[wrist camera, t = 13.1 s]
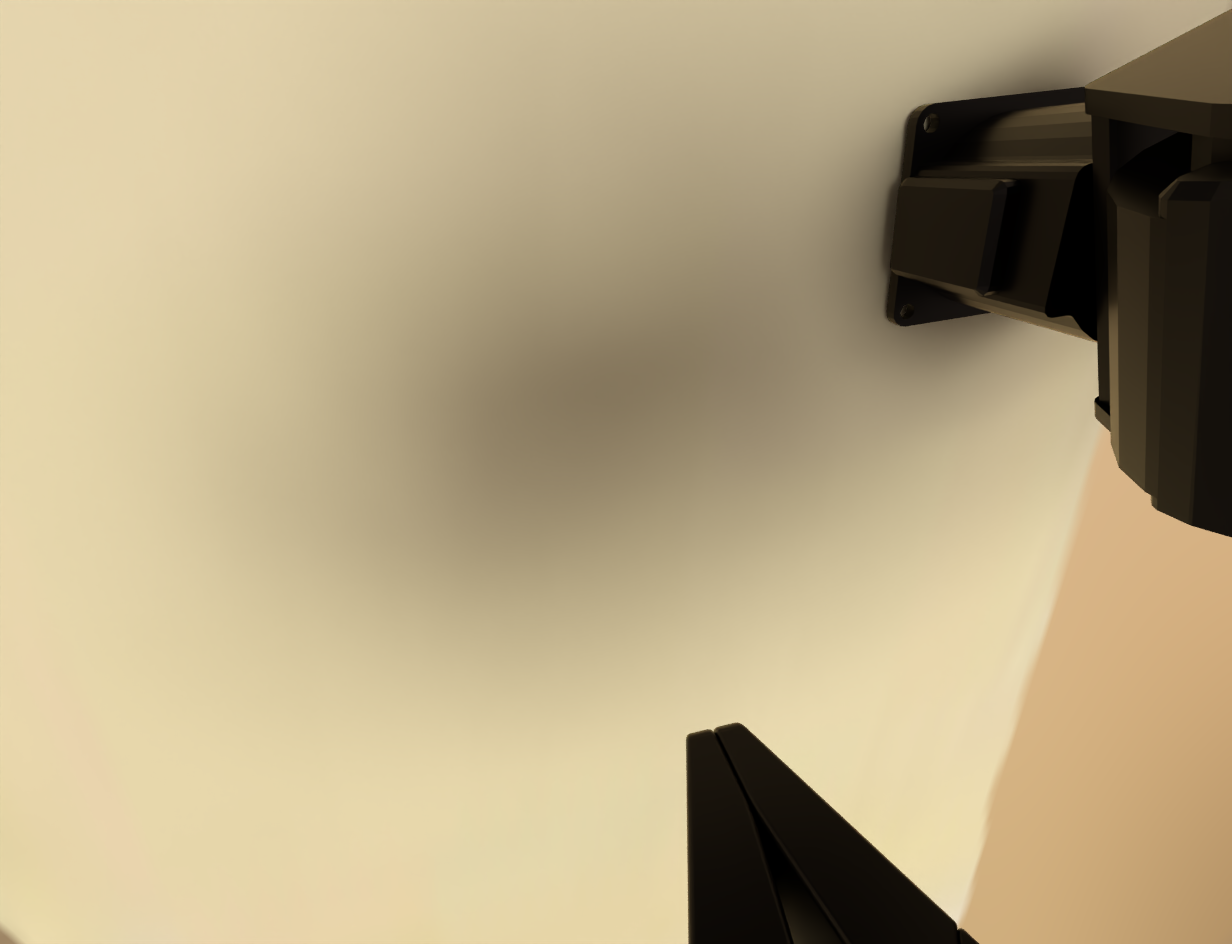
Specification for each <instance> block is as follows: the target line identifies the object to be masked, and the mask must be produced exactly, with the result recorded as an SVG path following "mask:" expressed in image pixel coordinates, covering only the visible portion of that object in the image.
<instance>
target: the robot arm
mask: <svg viewBox="0 0 1232 944" xmlns="http://www.w3.org/2000/svg"><path fill="white" fill-rule="evenodd" d="M928 116H929V117H930V119H931V124H930V127H929V129H928V130H927V132H926V131H925V130H924V122H925V119H926V118H927V117H928ZM890 268H891V278H890V287H889V296H888V305H887V317H888V319H889V321H890V322H892V323H894V324H896V325H899V326H911V325H917V324H924V323H930V322H936V321H942V320H948V319H954V318H961V317H967V316H973V315H979V314H985V313H991V312H992V313H996V314H999V315H1003V316H1006V317H1010V318H1013V319H1017V320H1020V321H1024V322H1027V323H1031V324H1034V325H1037V326H1041V327H1044V328H1048V329H1051V330H1055V331H1058V332H1062V333H1065V334H1069V335H1072V336H1076V337H1079V338H1083V339H1086V340H1090V341H1093V342H1097V344H1098V381H1099V396H1098V397H1097V398H1095V401H1094V404H1095V417H1096V419H1097V420H1098V421H1099V422H1100V423H1101V424H1103V425H1104V426H1105V427H1106V428H1107V429H1108V430H1109V431H1110V432H1111V445H1112V448H1113V451H1114V454H1115V457H1116V460H1117V463H1118V466H1119V468H1120V469H1121V470H1122V471H1123V472H1124V473H1125V474H1126V475H1128V476H1129V477H1130V478H1131V479H1132V480H1133V481H1134V482H1135V483H1136V484H1137V485H1138V486H1139V487H1140V488H1142V489H1143V490H1144V491H1145V492H1146V493H1148V494H1150V495H1151V503H1152V506H1153V507H1154V508H1155V509H1157V510H1158V511H1160V512H1163V513H1165V514H1167V515H1169V516H1171V517H1173V518H1176V519H1178V520H1180V521H1182V522H1184V523H1186V524H1189V525H1191V526H1195V527H1198V528H1201V529H1205V530H1209V531H1212V532H1215V533H1219V534H1222V535H1225V536H1229V537H1232V9H1230V10H1229V11H1227V12H1225V13H1223V14H1221V15H1219V16H1217V17H1215V18H1213V19H1211V20H1209V21H1208V22H1206V23H1204V24H1202V25H1200V26H1198V27H1196V28H1194V29H1192V30H1190V31H1188V32H1187V33H1185V34H1183V35H1181V36H1179V37H1177V38H1175V39H1173V40H1171V41H1169V42H1167V43H1166V44H1164V45H1162V46H1160V47H1158V48H1156V49H1154V50H1152V51H1150V52H1148V53H1146V54H1145V55H1143V56H1141V57H1139V58H1137V59H1135V60H1133V61H1131V62H1129V63H1127V64H1125V65H1124V66H1122V67H1120V68H1118V69H1116V70H1114V71H1112V72H1110V73H1108V74H1106V75H1104V76H1103V77H1101V78H1099V79H1097V80H1095V81H1093V82H1091V83H1089V84H1088V85H1086V86H1085V87H1079V88H1070V89H1061V90H1051V91H1042V92H1033V93H1024V94H1015V95H1006V96H997V97H988V98H979V99H970V100H960V101H951V102H942V103H933V104H926V105H923V106H920V107H918V108H917V109H916V110H915V111H914V112H913V114H912V115H911V117H910V119H909V123H908V128H907V137H906V146H905V154H904V163H903V172H902V181H901V186H900V187H899V191H898V200H897V209H896V218H895V227H894V236H893V245H892V254H891V263H890ZM905 305H907V310H906V312H905V313H904V314H903V315H902V316H901V314H900V312H901V310H902V308H903V307H904V306H905ZM686 770H687V855H688V941H689V944H979V943H978V942H977V941H976V940H974V939H973V938H972V937H971V936H970V935H969V934H968V933H967V932H966V931H965V930H964V929H962V928H959V929H958V930H957V924H956V922H955V921H954V920H953V919H952V918H951V917H949V916H948V915H947V914H946V913H945V912H944V911H943V910H942V909H941V908H940V907H939V906H938V905H937V904H935V903H934V902H933V901H932V900H931V899H930V898H929V897H928V896H927V895H926V894H925V893H924V892H923V891H921V890H920V889H919V888H918V887H917V886H916V885H915V884H914V883H913V882H912V881H911V880H910V879H909V878H907V877H906V876H905V875H904V874H903V873H902V872H901V871H900V870H899V869H898V868H897V867H896V866H895V865H894V864H892V863H891V862H890V861H889V860H888V859H887V858H886V857H885V856H884V855H883V854H882V853H881V852H880V851H878V850H877V849H876V848H875V847H874V846H873V845H872V844H871V843H870V842H869V841H868V840H867V839H866V838H864V837H863V836H862V835H861V834H860V833H859V832H858V831H857V830H856V829H855V828H854V827H853V826H852V825H850V824H849V823H848V822H847V821H846V820H845V819H844V818H843V817H842V816H841V815H840V814H839V813H838V812H836V811H835V810H834V809H833V808H832V807H831V806H830V805H829V804H828V803H827V802H826V801H825V800H824V799H822V798H821V797H820V796H819V795H818V794H817V793H816V792H815V791H814V790H813V789H812V788H811V787H810V786H808V785H807V784H806V783H805V782H804V781H803V780H802V779H801V778H800V777H799V776H798V775H797V774H796V773H795V772H793V771H792V770H791V769H790V768H789V767H788V766H787V765H786V764H785V763H784V762H783V761H782V760H781V759H779V758H778V757H777V756H776V755H775V754H774V753H773V752H772V751H771V750H770V749H769V748H768V747H767V746H765V745H764V744H763V743H762V742H761V741H760V740H759V739H758V738H757V737H756V736H755V735H754V734H753V733H751V732H750V731H749V730H748V729H747V728H746V727H745V726H744V725H742V724H740V723H732V724H728V725H724V726H719V727H717V728H715V729H714V732H713V731H712V730H709V729H707V730H703V731H699V732H695V733H691V734H688V735H687V737H686Z"/></svg>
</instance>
